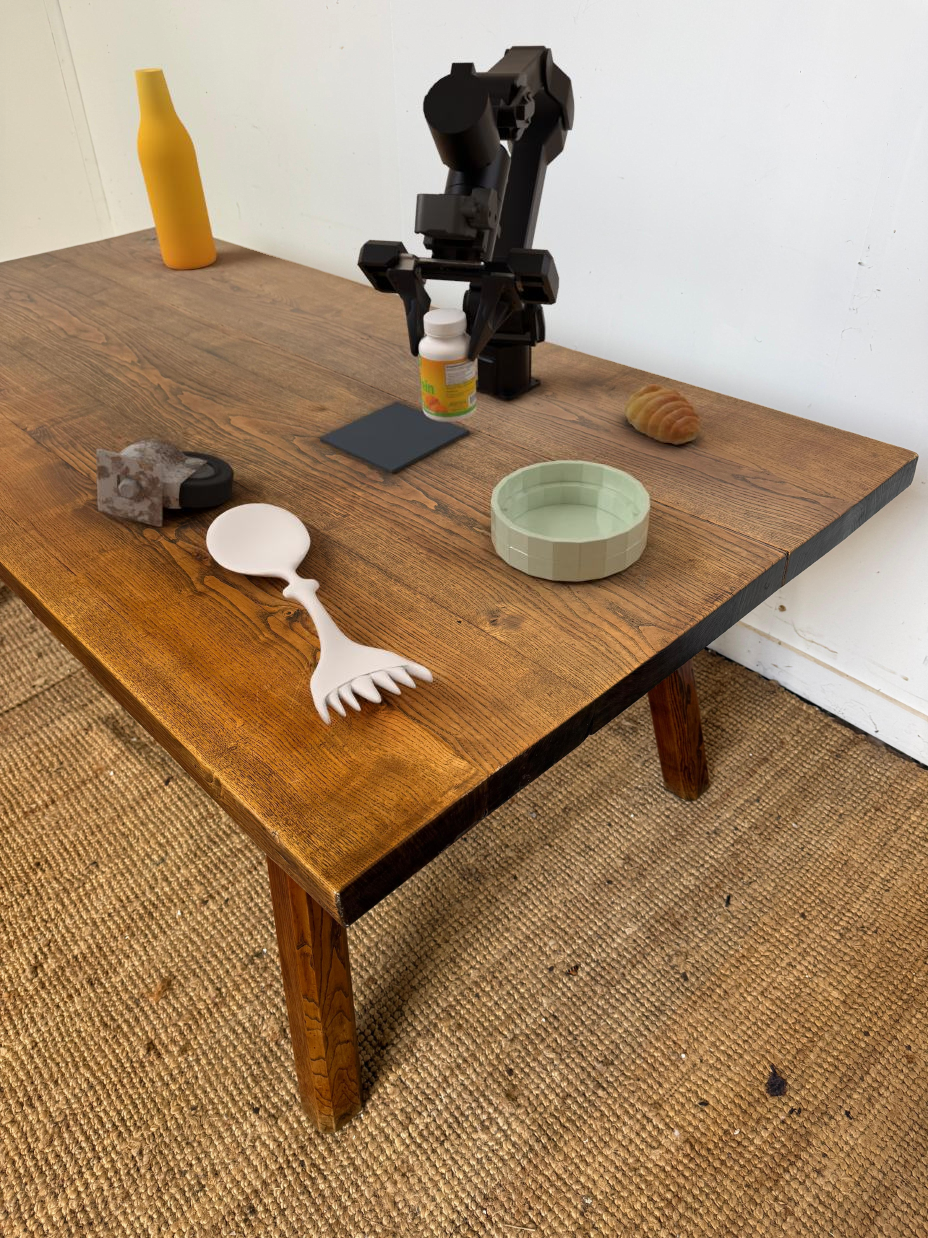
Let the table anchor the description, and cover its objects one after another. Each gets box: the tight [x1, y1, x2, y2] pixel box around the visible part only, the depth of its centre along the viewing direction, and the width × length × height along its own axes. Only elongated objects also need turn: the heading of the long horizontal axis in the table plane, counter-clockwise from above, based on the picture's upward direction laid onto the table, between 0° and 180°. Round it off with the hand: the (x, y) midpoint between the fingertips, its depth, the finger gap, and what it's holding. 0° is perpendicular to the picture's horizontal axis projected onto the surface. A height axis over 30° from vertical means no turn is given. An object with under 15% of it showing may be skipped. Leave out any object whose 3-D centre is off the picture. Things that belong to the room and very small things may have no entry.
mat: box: [319, 401, 470, 474], centre depth 100 cm, size 12×12×1 cm
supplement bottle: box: [418, 307, 477, 423], centre depth 85 cm, size 5×5×10 cm
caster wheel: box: [96, 438, 235, 528], centre depth 89 cm, size 7×11×10 cm
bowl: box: [490, 459, 651, 582], centre depth 81 cm, size 14×14×4 cm
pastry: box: [624, 383, 703, 446], centre depth 98 cm, size 9×7×4 cm
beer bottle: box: [134, 67, 217, 271], centre depth 146 cm, size 9×9×29 cm
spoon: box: [205, 503, 434, 726], centre depth 74 cm, size 9×32×4 cm, turn 30°
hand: (441, 357), depth 83 cm, fingers closed on supplement bottle, 5 cm apart
